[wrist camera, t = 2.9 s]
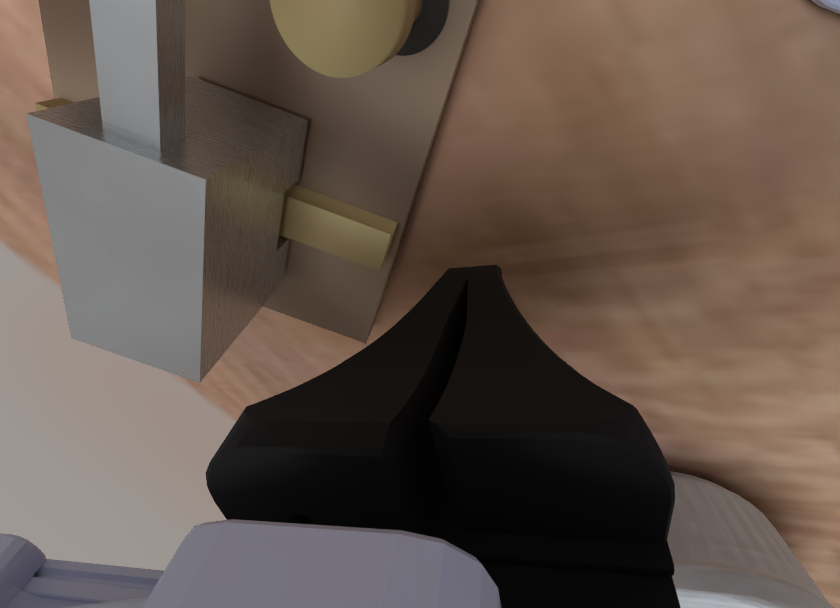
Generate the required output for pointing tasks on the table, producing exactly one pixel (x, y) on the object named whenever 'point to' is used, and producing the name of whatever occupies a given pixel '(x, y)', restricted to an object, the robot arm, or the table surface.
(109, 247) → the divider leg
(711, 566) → the ramekin
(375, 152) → the board
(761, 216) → the table surface
